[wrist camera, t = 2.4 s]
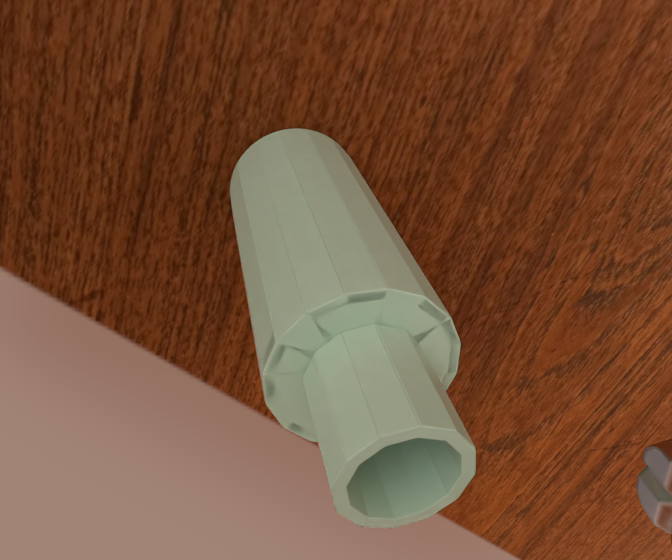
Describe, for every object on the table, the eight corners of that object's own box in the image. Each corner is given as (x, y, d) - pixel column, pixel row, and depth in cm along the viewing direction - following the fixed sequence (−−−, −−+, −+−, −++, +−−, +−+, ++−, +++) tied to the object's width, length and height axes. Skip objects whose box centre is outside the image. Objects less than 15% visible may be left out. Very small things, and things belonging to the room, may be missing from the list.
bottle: (214, 228, 22) (250, 552, 11) (253, 110, 20) (341, 371, 9) (328, 256, 24) (452, 559, 13) (374, 149, 22) (565, 407, 11)
